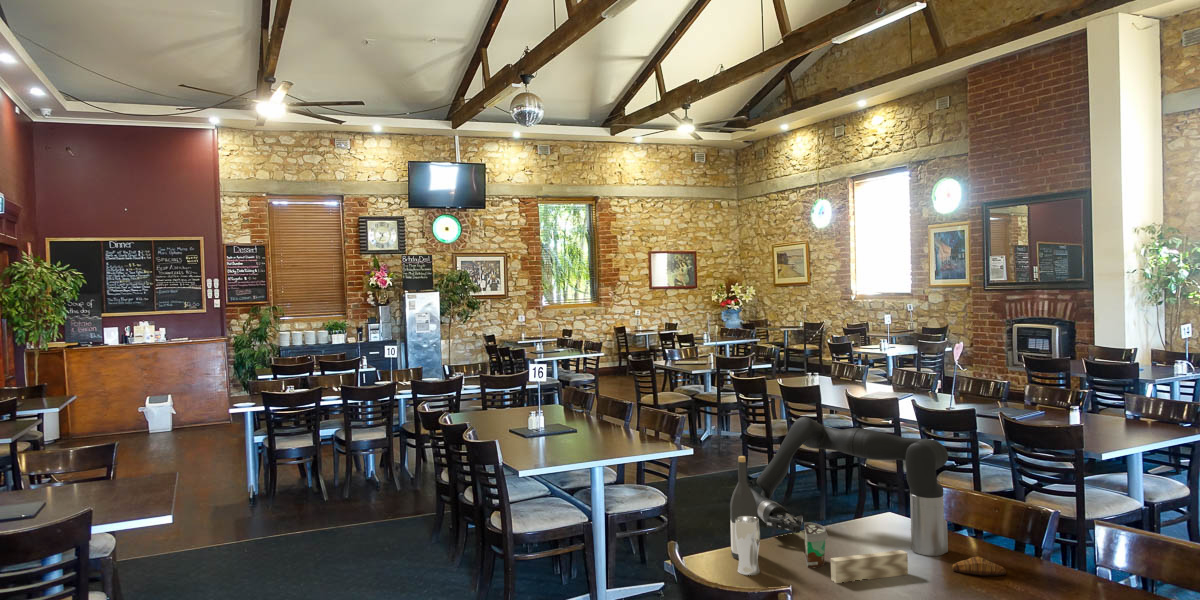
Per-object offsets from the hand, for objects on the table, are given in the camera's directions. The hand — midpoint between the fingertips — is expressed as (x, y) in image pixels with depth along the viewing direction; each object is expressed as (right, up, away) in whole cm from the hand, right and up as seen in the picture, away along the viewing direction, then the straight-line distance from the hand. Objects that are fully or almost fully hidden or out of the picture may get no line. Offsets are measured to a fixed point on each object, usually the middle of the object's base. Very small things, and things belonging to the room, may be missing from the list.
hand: (797, 529), depth 226 cm
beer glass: (-19, -7, -17) cm, 26 cm away
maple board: (+13, -6, -24) cm, 28 cm away
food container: (+3, -6, -11) cm, 13 cm away
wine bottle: (-17, -7, -5) cm, 19 cm away
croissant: (+44, -5, -23) cm, 50 cm away
